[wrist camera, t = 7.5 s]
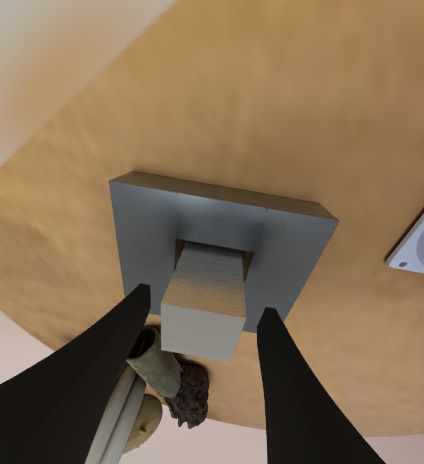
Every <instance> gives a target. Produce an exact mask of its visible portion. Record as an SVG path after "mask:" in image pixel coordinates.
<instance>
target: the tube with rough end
mask: <svg viewBox="0 0 424 464" xmlns="http://www.w3.org/2000/svg"><path fill="white" fill-rule="evenodd" d="M126 361H127V362H128V363H129V364H130V366H131V367H132V368H133V369H134V370H135V371H136V372H137V373H138V374H139V375H140V376H141V377H142V378H143V379H144V380H145V381H146V383H147V384H148V385H149V386H150V387H151V388H152V389H153V390H154V391H155V392H156V393H157V394H158V395H159V396H161V397H164V400H165V403H166V404H167V405H168V407H169V410H170V412H171V417H172V418H176V419H177V418H178V426H179V427H181V425H182V424H183V423H184V422H187V423H188V428H189V429H191V428H193V427H195V426H199V424H200V423H202V422H204V420H205V418H206V415H207V412H208V404H207V400H208V395H209V394H208V389H209V378H208V376H207V374H206V372H205V371H204V370H203V369H202V368H201V367H200V366H195V365H191V366H188V365H186V364H184V365H182V364H181V365H180V364H179V363H178V361H177V360H176V358H175V357H174V355H173V353H172V352H170V351H165V350H161V335H160V334H159V332H158V331H157V329H156V328H155V327H154V326H151V325H147V326H143V328H142V330H141V332H140V334H139V336H138V338H137V340H136V342H135V344H134V345H133V347H132V349H131V351H130V353H129V355H128V357H127V359H126Z"/></svg>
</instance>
